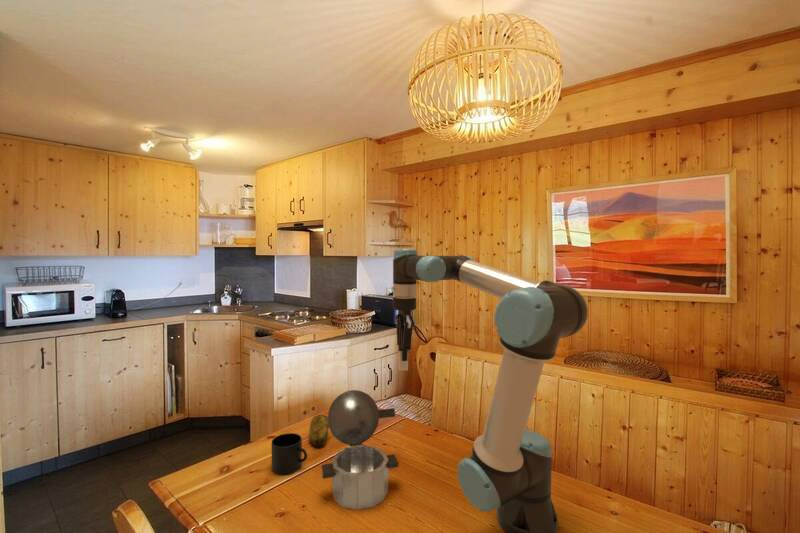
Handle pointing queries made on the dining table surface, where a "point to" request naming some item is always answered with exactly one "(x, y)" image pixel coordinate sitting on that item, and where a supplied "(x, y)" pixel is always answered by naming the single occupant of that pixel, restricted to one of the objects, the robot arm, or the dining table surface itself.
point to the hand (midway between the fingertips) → (403, 369)
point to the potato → (318, 430)
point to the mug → (287, 453)
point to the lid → (355, 417)
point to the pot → (359, 476)
